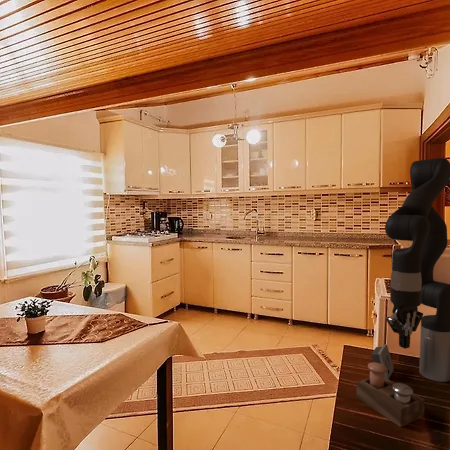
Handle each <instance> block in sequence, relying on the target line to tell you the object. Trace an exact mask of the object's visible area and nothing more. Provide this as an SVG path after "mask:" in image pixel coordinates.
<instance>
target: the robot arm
mask: <svg viewBox="0 0 450 450" xmlns="http://www.w3.org/2000/svg"><path fill="white" fill-rule="evenodd" d="M409 177H410V179H409V180H410V184H411V185H410V186H411V192H409V194H408V195H407V196H406V198H405V199H404V202H403V204H402V206H400V207H398V208H397V209H396V210H395V211H393V213H391V214H390V215H389V217H388V218H387V220H386V221H385V226H384V231H385V234H386V236H387V237H388V238H389V239H391V240H395V241H409V242H412V243H411V245H410V246H409V247H403V248H397V249H394V250H393V251H392V253H391V274H390V287H389V288H390V289H389V290H390V297H389V298H390V302H391V303H392V305H393V307H392V314H391V316H386V317H385V318H386V319H385V321H386V322H387V324H388V325H389V327H390V328H391V330H392V331H393V333H394V334H395V333H396V334H397V335H398V345H399V347H401V348H402V349H404V350H405V349H406V350H407V349H409V348H410V347H411V336H412V334H413V332H416V331H417V329H418V327H419V324H420V338H419V339H420V343H419V344H420V345H419V370H418V372H419V374H420V375H421V376H422V377H424V378H426V379H427V380H431V381H434V382H439V383H446V382H449V381H450V283H446V282H442V281H436V280H434V269H435V267H436V263H437V262H438V261H439V259H440V258H441V257H442V255H443V254H444V252H445V251H446V249H447V247H448V228H447V227H448V226H447V224H446V221H445V220H444V219H443V217H442V216H441V215H440V214H439V212H437V210H436V209H435V208H434V206H433V205H434V202H435V201H436V199H437V197H439V195H440V194H441V193H442V192H443V190H444V189H445V188H446V187H447V185H448V184H449V182H450V161H449V159H448V158H445V157H435V158H427V159H420V160H415V161H413V162H411V165H410V169H409ZM421 305H423V306H426V307H429V308H433V309H436V311H435V314H427V315H424V312H421V311H419V310H418V307H420V306H421Z"/></svg>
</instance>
